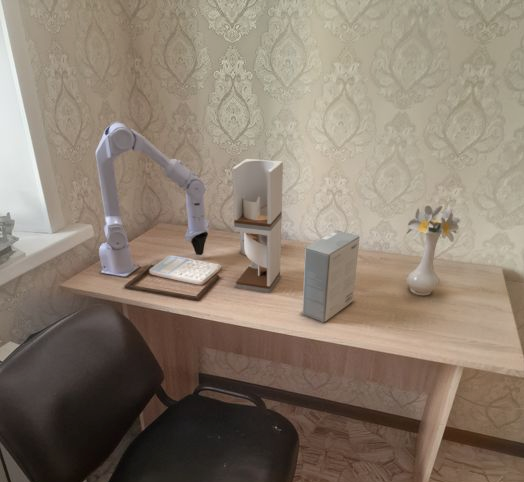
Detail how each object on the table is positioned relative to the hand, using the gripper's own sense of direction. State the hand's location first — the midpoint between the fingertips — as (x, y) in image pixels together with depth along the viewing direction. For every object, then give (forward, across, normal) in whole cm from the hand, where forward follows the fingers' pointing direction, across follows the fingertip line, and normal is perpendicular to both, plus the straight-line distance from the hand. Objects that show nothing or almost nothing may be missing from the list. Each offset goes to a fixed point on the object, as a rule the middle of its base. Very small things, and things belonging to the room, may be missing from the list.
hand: (199, 254), depth 158 cm
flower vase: (+2, +1, -73) cm, 73 cm away
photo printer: (+2, +13, -14) cm, 19 cm away
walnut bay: (+2, -19, 0) cm, 19 cm away
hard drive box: (+2, -19, -49) cm, 53 cm away
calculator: (+2, -11, 0) cm, 11 cm away
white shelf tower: (+2, -10, -25) cm, 27 cm away
